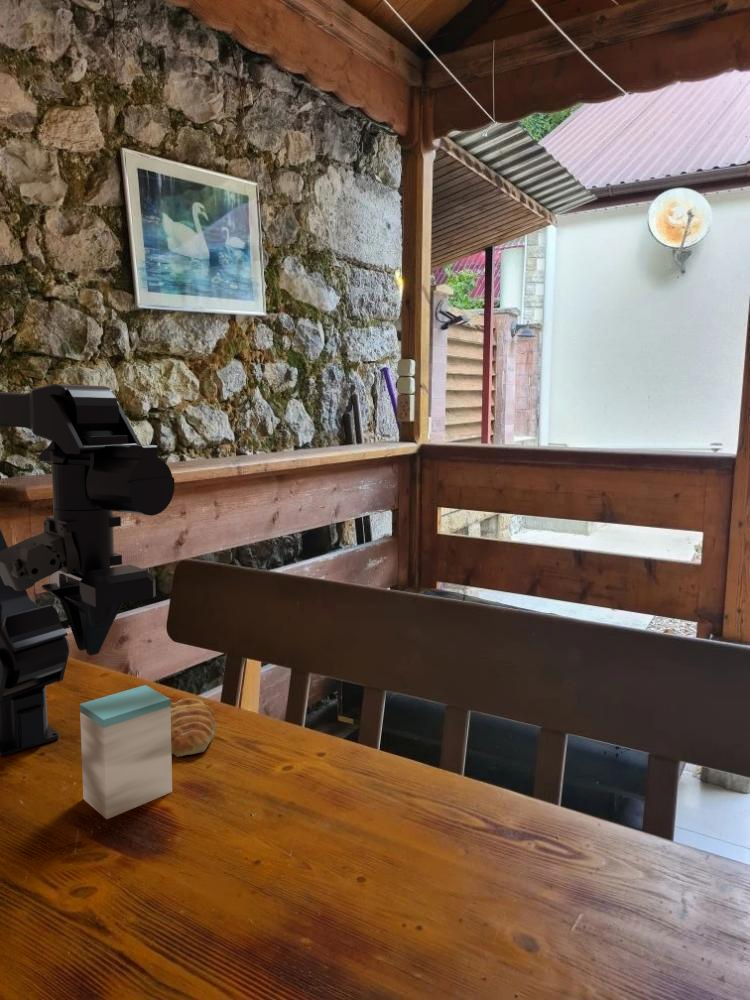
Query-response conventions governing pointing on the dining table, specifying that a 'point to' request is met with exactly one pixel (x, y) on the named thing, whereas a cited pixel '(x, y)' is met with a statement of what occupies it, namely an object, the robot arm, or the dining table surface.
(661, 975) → the dining table surface
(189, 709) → the pastry
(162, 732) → the birch block
